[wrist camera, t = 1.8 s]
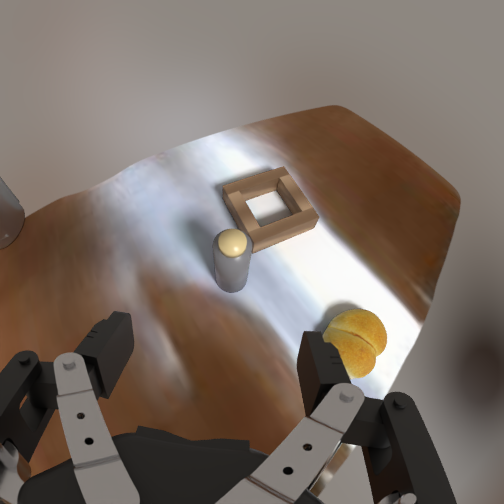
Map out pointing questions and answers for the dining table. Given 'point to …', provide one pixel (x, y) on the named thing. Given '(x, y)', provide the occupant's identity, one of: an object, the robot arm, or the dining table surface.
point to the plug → (232, 259)
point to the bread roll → (357, 340)
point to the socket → (275, 231)
